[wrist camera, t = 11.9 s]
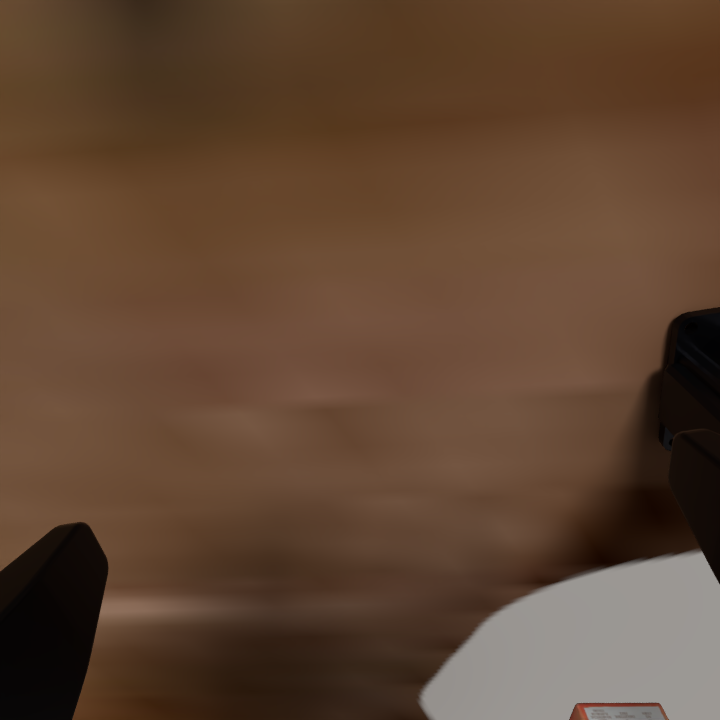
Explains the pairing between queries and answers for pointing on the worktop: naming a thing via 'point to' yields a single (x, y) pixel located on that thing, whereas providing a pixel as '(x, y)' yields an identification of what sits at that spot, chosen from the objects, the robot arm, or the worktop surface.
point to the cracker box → (618, 711)
